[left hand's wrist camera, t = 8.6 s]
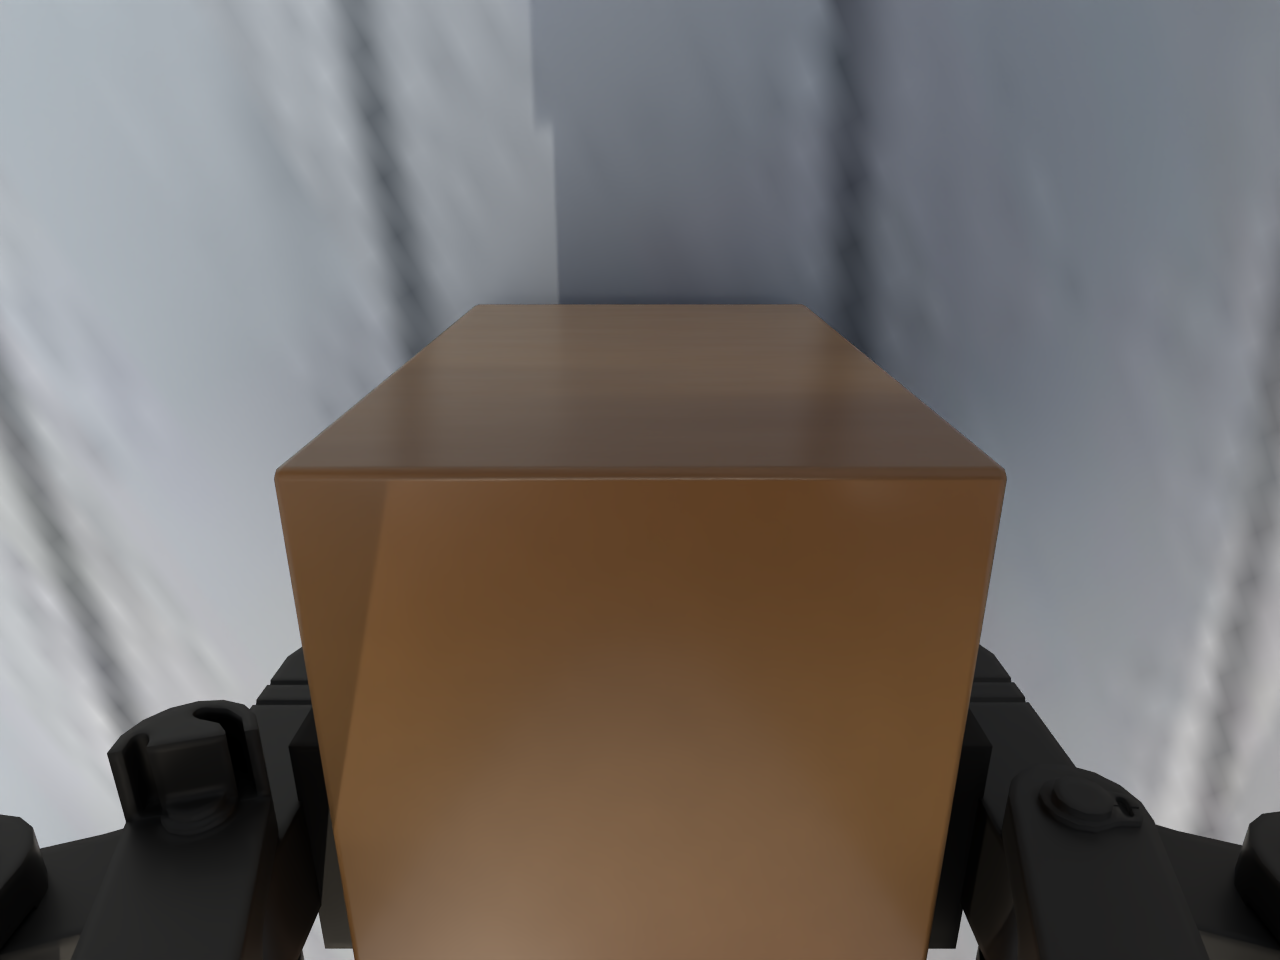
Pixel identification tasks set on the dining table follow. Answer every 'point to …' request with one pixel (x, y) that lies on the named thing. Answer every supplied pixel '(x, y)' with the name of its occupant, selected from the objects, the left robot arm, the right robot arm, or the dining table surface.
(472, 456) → the bar
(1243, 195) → the dining table surface
